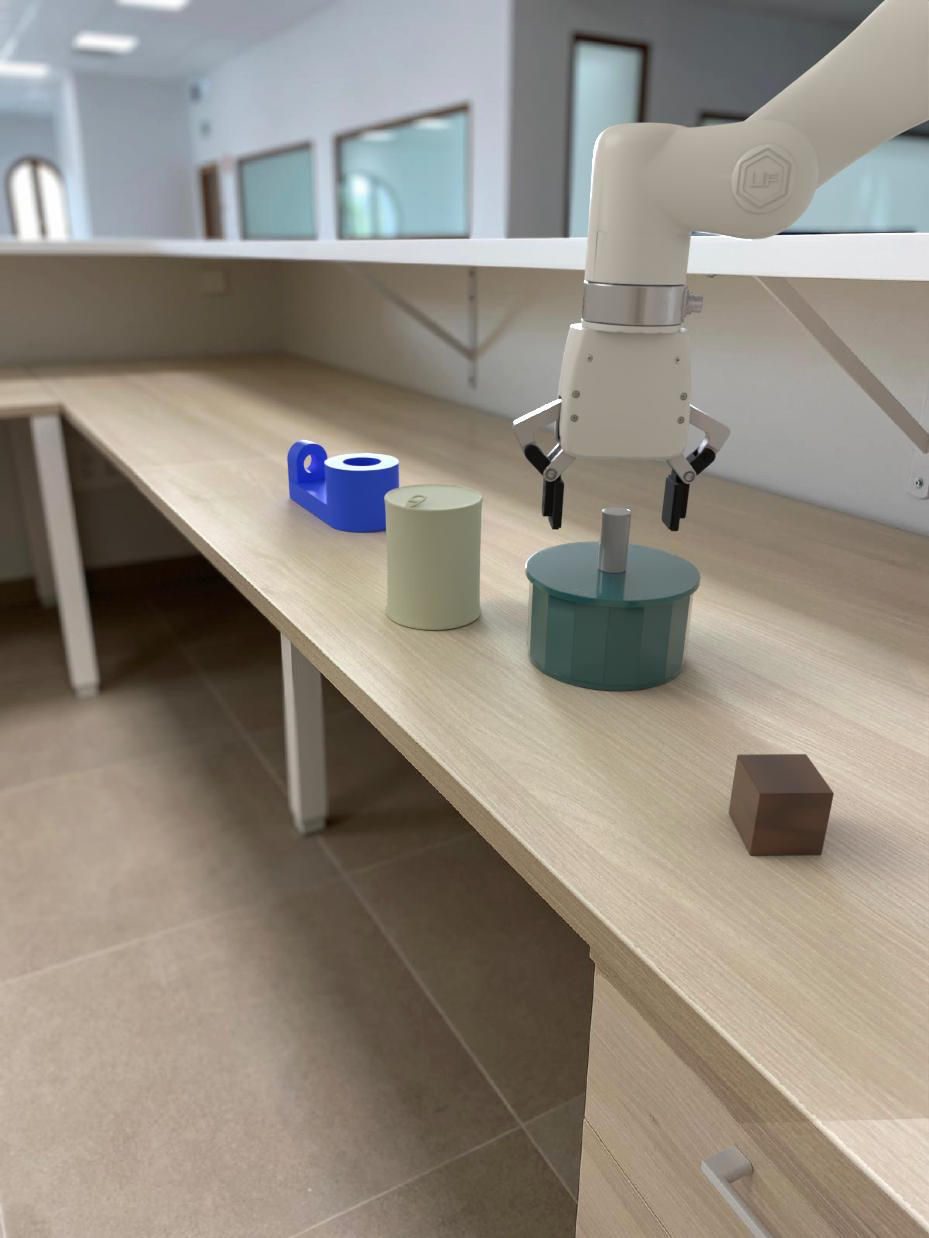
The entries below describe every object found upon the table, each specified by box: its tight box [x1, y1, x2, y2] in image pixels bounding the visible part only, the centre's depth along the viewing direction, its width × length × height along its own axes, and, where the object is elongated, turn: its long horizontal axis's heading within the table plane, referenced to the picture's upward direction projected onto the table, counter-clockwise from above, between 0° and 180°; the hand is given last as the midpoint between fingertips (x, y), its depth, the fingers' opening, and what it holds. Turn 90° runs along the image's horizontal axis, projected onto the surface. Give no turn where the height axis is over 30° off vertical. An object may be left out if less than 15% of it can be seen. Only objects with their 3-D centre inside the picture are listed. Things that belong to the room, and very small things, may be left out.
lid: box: [524, 506, 701, 608], centre depth 78 cm, size 15×15×6 cm
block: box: [728, 753, 835, 856], centre depth 57 cm, size 4×4×4 cm
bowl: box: [526, 580, 695, 692], centre depth 80 cm, size 14×14×8 cm
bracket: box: [286, 439, 400, 533], centre depth 119 cm, size 20×9×8 cm, turn 38°
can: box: [384, 483, 484, 631], centre depth 88 cm, size 9×9×12 cm
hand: (612, 525), depth 77 cm, fingers open, 9 cm apart
